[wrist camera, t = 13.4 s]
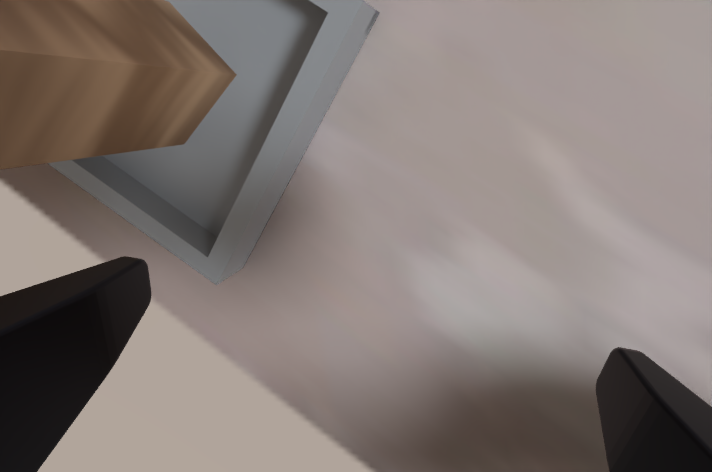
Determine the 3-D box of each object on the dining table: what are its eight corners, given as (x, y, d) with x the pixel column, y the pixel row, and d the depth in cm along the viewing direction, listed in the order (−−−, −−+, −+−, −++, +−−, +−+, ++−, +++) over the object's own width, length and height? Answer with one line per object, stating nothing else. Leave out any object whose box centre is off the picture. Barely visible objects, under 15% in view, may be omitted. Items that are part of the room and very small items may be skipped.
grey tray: (379, 12, 19) (363, 0, 17) (242, 267, 24) (216, 285, 22) (116, -155, 20) (67, -188, 18) (40, 123, 25) (-5, 126, 23)
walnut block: (236, 74, 21) (-92, 40, 9) (184, 144, 23) (-148, 189, 11) (169, 1, 21) (-248, -127, 9) (121, 77, 23) (-280, 50, 11)
